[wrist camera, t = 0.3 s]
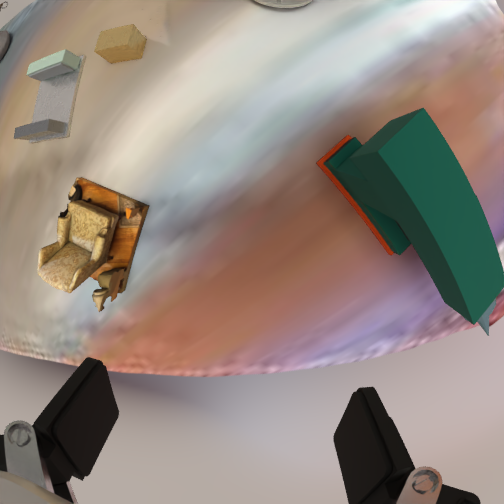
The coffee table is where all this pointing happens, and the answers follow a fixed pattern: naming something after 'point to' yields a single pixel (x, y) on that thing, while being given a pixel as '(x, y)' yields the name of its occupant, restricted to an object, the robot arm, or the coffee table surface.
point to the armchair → (93, 241)
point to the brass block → (121, 44)
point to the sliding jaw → (53, 65)
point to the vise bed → (53, 107)
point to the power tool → (422, 208)
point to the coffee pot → (3, 40)
